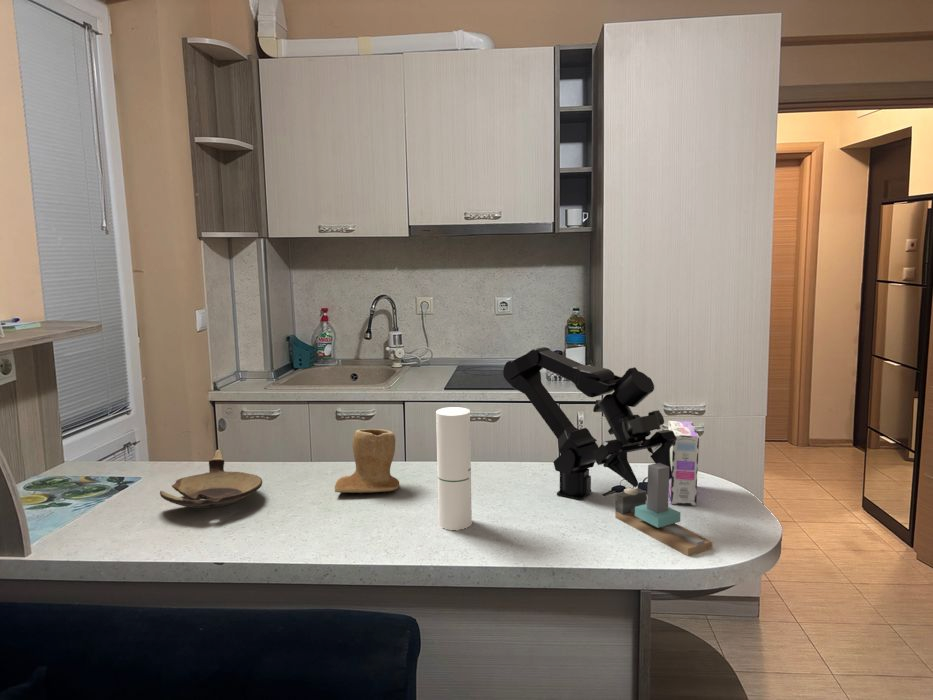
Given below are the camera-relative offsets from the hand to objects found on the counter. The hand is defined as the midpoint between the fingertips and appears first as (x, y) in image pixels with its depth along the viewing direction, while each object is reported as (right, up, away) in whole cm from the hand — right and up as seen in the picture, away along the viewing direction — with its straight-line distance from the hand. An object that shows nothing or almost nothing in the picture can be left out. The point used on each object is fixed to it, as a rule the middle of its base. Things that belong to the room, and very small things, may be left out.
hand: (654, 482), depth 148 cm
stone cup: (-63, -7, +27) cm, 69 cm away
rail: (+1, -10, 0) cm, 10 cm away
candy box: (+12, -7, +20) cm, 24 cm away
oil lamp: (-98, -8, +22) cm, 101 cm away
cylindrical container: (-41, -10, +6) cm, 43 cm away
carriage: (+1, -8, 0) cm, 8 cm away
